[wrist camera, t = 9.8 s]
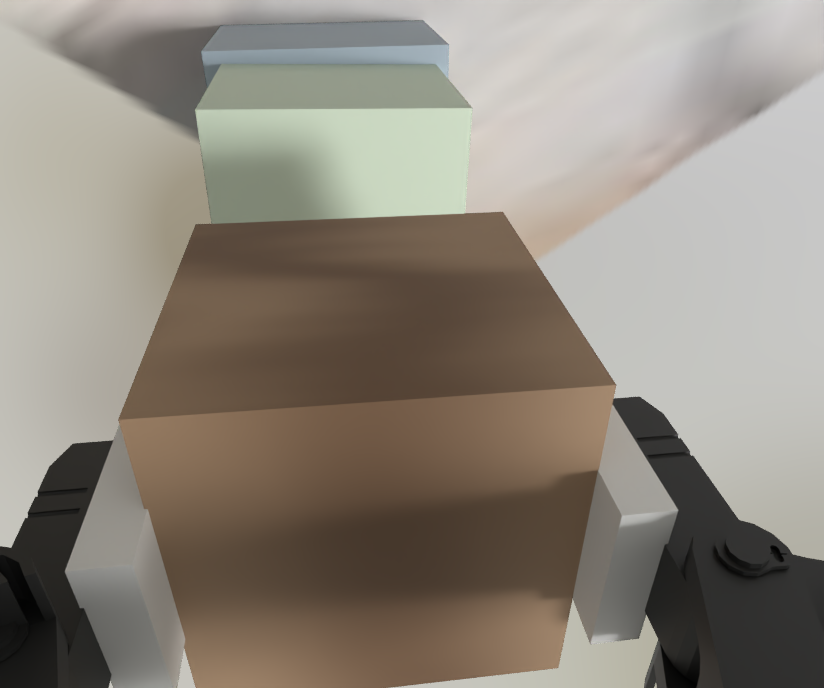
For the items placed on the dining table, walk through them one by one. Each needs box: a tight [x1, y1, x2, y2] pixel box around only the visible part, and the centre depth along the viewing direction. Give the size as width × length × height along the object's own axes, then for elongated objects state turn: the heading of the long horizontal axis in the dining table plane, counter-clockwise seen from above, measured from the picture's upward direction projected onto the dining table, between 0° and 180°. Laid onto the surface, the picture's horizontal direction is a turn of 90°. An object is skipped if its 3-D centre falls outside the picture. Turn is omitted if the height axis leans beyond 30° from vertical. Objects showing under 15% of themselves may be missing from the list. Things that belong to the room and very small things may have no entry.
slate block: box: [201, 21, 449, 88], centre depth 26 cm, size 8×8×6 cm
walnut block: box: [118, 212, 616, 688], centre depth 12 cm, size 6×6×6 cm
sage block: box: [195, 64, 473, 224], centre depth 21 cm, size 7×7×6 cm
